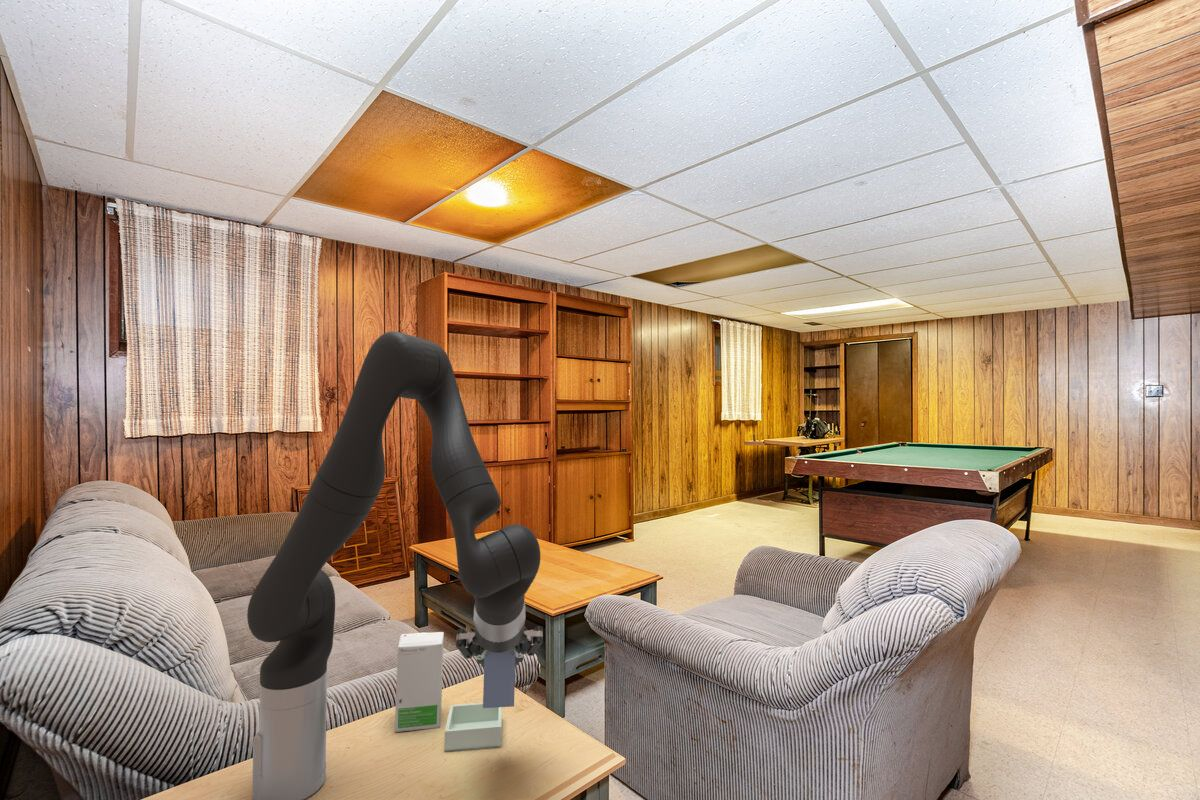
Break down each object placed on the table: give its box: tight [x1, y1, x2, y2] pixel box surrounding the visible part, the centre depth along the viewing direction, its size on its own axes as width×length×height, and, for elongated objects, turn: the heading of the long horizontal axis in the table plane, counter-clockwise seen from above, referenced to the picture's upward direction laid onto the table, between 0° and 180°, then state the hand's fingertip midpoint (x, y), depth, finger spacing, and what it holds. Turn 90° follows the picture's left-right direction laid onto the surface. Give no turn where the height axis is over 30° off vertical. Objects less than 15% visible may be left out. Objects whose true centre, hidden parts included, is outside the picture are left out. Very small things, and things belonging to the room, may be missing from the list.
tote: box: [444, 702, 503, 753], centre depth 99 cm, size 10×9×4 cm
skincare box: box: [394, 631, 445, 733], centre depth 104 cm, size 8×7×16 cm
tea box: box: [482, 651, 516, 708], centre depth 92 cm, size 5×5×12 cm
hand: (500, 659), depth 93 cm, fingers closed on tea box, 5 cm apart
